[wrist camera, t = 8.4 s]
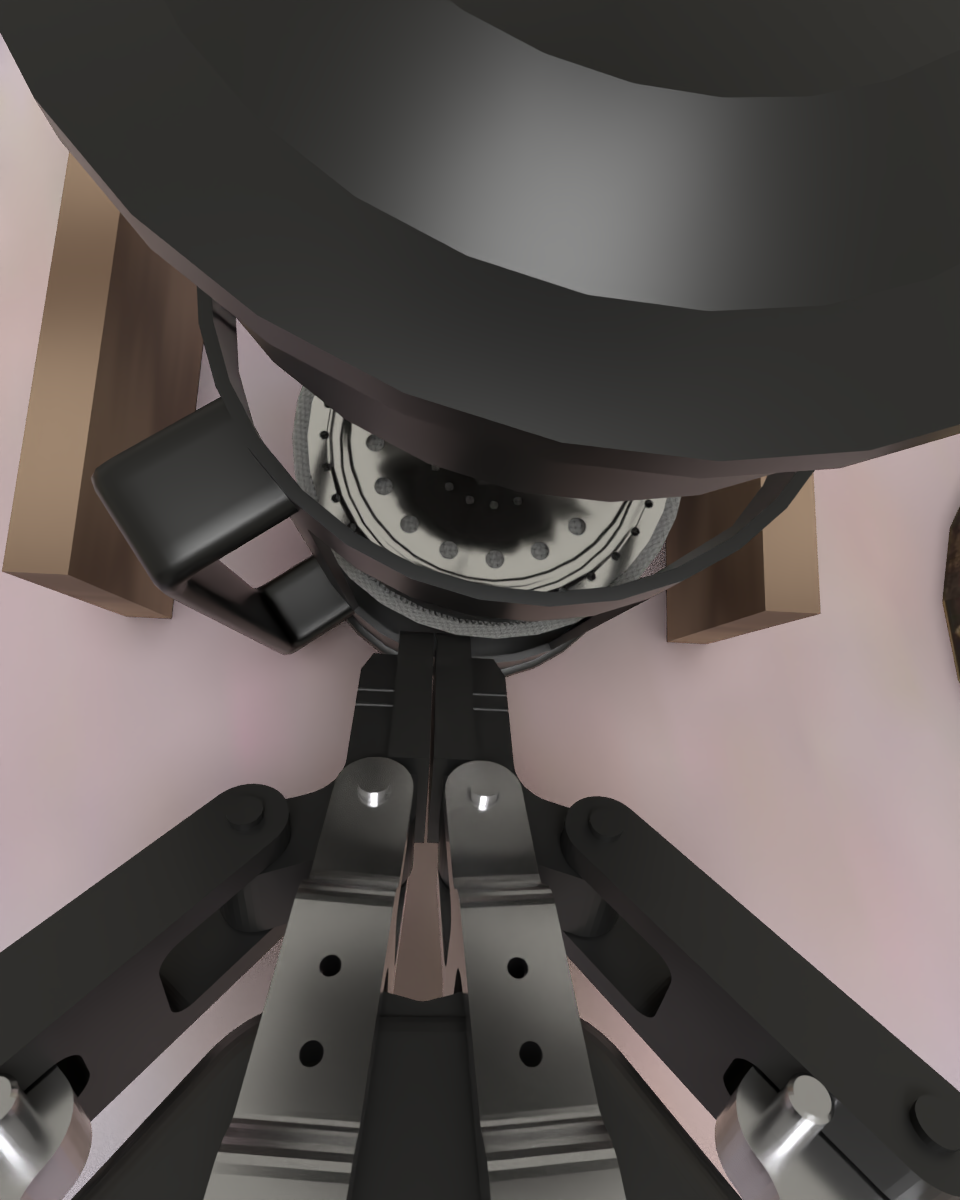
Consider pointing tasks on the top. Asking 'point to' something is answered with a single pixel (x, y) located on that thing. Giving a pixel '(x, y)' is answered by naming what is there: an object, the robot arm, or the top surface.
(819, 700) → the top surface
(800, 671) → the top surface
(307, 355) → the french press
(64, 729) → the top surface
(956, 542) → the wood slice
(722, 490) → the docking bay
